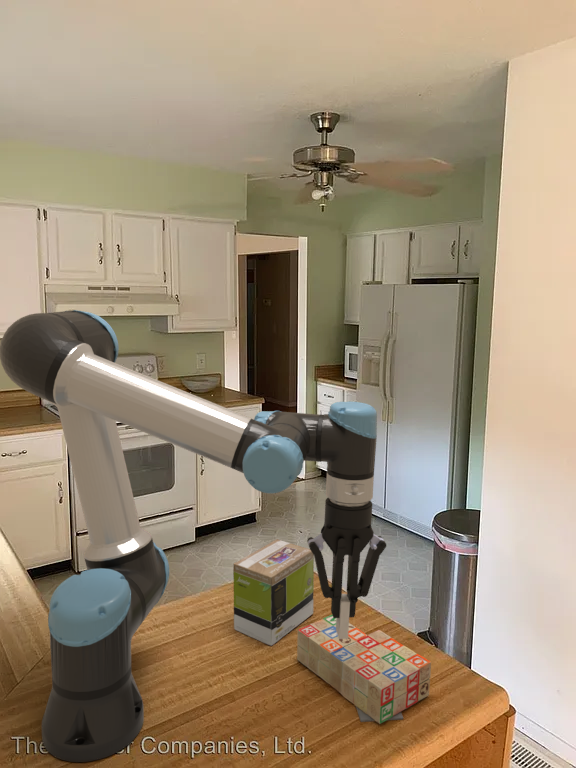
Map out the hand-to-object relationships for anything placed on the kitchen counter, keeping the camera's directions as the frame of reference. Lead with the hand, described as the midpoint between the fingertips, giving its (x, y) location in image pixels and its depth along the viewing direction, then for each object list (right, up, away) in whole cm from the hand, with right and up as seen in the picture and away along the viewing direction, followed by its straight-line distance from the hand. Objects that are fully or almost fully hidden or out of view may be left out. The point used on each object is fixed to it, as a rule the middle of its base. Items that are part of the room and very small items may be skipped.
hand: (341, 634), depth 100 cm
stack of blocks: (-1, -8, +3) cm, 8 cm away
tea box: (-12, -8, +24) cm, 28 cm away
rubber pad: (+5, -12, +2) cm, 13 cm away
